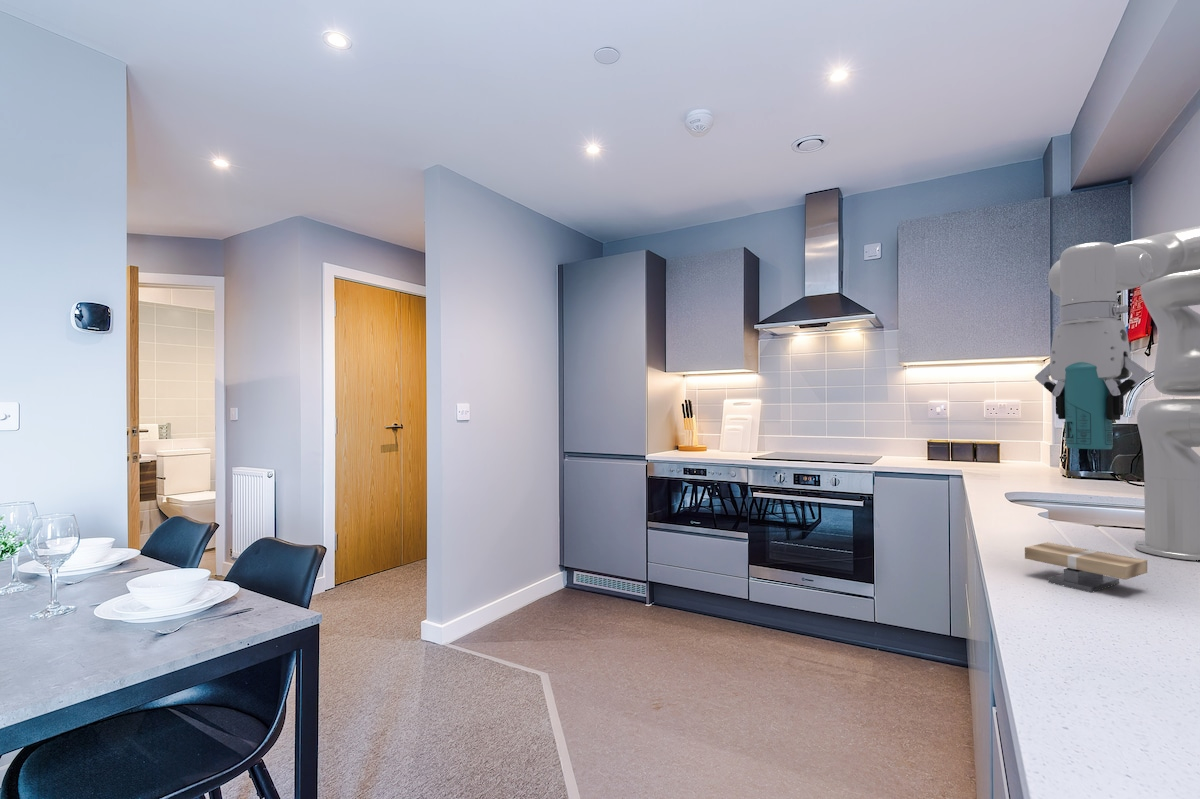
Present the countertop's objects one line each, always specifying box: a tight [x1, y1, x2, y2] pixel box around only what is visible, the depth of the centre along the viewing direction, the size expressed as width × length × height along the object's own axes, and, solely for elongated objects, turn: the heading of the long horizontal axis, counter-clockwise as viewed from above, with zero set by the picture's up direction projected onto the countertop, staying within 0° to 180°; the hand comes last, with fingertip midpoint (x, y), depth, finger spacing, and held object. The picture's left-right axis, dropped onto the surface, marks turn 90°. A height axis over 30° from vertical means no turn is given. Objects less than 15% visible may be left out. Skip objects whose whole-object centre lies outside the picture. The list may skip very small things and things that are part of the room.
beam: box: [1024, 541, 1148, 580], centre depth 97 cm, size 8×14×2 cm, turn 28°
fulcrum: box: [1048, 567, 1120, 593], centre depth 97 cm, size 10×6×3 cm, turn 118°
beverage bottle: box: [1063, 362, 1115, 450], centre depth 98 cm, size 6×7×20 cm
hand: (1088, 418), depth 98 cm, fingers closed on beverage bottle, 6 cm apart
